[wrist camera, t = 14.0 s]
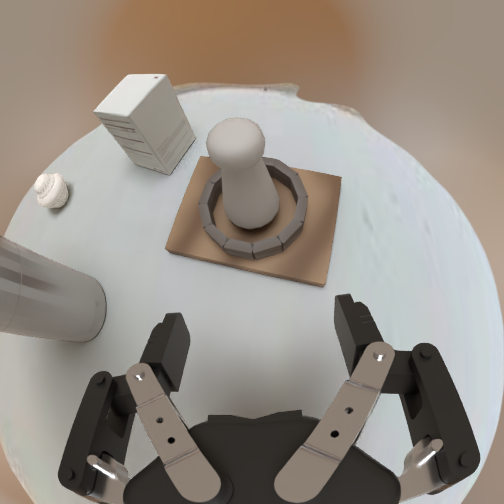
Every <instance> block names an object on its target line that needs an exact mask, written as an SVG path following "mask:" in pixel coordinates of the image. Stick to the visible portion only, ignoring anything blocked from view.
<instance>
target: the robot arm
mask: <svg viewBox="0 0 504 504" xmlns="http://www.w3.org/2000/svg"><path fill="white" fill-rule="evenodd" d="M105 313H106V302H105V296H104V293H103V290H102V288H101V286H100V284H99V283H98V282H97V281H96V280H95V279H94V278H93V277H90V276H88V275H85V274H83V273H81V272H78V271H76V270H73V269H71V268H69V267H67V266H64V265H62V264H60V263H57V262H55V261H53V260H51V259H48V258H46V257H44V256H42V255H39V254H37V253H35V252H33V251H31V250H29V249H27V248H25V247H23V246H20V245H18V244H16V243H14V242H12V241H10V240H8V239H6V238H4V237H2V236H0V332H5V333H10V334H17V335H23V336H30V337H38V338H46V339H55V340H64V341H75V342H86V341H89V340H91V339H93V338H94V337H95V336H96V335H97V334H98V333H99V331H100V329H101V327H102V325H103V322H104V319H105ZM334 324H335V330H336V333H337V336H338V339H339V342H340V346H341V349H342V352H343V356H344V359H345V362H346V366H347V369H348V373H349V376H350V379H349V380H346V381H345V383H344V384H343V386H342V387H341V389H340V391H339V392H338V394H337V396H336V397H335V399H334V401H333V402H332V404H331V405H330V407H329V408H328V410H327V411H326V413H325V415H324V416H323V418H322V419H321V420H319V419H317V418H314V417H309V416H302V410H295V411H287V412H278V413H274V414H271V415H268V416H264V417H261V418H257V419H249V418H243V417H238V416H233V415H208V421H206V422H203V423H200V424H198V425H195V426H193V427H192V428H189V426H188V425H187V423H186V422H185V420H184V419H183V417H182V416H181V414H180V413H179V411H178V410H177V408H176V406H175V405H174V403H173V401H172V400H171V398H170V397H169V396H170V392H171V391H173V392H178V391H179V387H180V383H181V379H182V374H183V370H184V366H185V362H186V358H187V354H188V350H189V346H190V334H189V331H188V329H187V326H186V324H185V321H184V319H183V316H182V314H181V313H167V314H166V315H165V318H164V320H163V322H162V323H158V324H157V325H156V327H155V328H154V329H153V330H152V333H151V335H150V338H149V340H148V344H147V345H146V347H145V350H144V352H143V354H142V357H141V359H140V362H139V363H138V364H135V365H133V366H132V367H130V368H129V370H128V371H127V373H126V374H125V375H121V376H116V377H112V375H111V374H110V373H109V372H107V371H100V372H98V373H96V374H95V375H93V377H92V378H91V380H90V382H89V384H88V387H87V389H86V392H85V394H84V397H83V399H82V402H81V404H80V407H79V410H78V412H77V415H76V418H75V420H74V423H73V426H72V429H71V432H70V435H69V438H68V441H67V444H66V447H65V450H64V454H63V457H62V460H61V464H60V467H59V471H58V478H59V481H60V483H61V484H62V485H63V486H64V487H65V488H67V489H69V490H71V491H73V492H75V493H76V494H78V495H80V496H82V497H84V498H86V499H88V500H90V501H93V502H97V503H99V504H399V503H401V502H404V501H407V500H410V499H413V498H416V497H419V496H421V495H424V494H429V495H434V494H438V493H440V492H442V491H444V490H445V489H447V488H449V487H451V486H453V485H455V484H456V483H458V482H460V481H461V480H463V479H465V478H466V477H468V476H470V475H471V474H473V473H474V472H475V470H476V469H477V468H478V466H479V463H480V453H479V449H478V446H477V443H476V440H475V437H474V434H473V431H472V428H471V425H470V422H469V420H468V417H467V414H466V412H465V409H464V407H463V404H462V402H461V399H460V397H459V394H458V392H457V390H456V387H455V385H454V383H453V380H452V378H451V376H450V374H449V372H448V370H447V367H446V365H445V363H444V361H443V359H442V357H441V355H440V353H439V351H438V349H437V348H436V347H435V346H433V345H432V344H429V343H420V344H418V345H416V346H415V347H414V348H413V350H412V351H397V350H394V349H393V347H392V346H391V345H389V344H387V343H385V342H384V341H383V338H382V336H381V334H380V332H379V330H378V328H377V326H376V324H375V322H374V320H373V317H372V316H371V313H370V311H369V309H368V307H367V306H365V305H364V304H363V303H362V302H355V303H354V301H353V299H352V297H351V295H350V294H343V295H337V296H335V309H334ZM381 393H387V394H399V396H400V399H401V403H402V406H403V410H404V413H405V417H406V420H407V424H408V428H409V432H410V436H411V440H412V444H413V448H412V450H411V451H410V452H409V453H408V454H407V455H406V457H405V460H404V470H403V473H402V475H401V476H400V477H397V476H396V475H395V474H394V473H393V472H392V471H391V470H389V469H388V468H386V467H385V466H383V465H382V464H380V463H379V462H378V461H376V460H375V459H373V458H372V457H371V456H369V455H368V454H366V453H365V452H364V451H362V450H361V449H360V448H358V447H357V446H355V444H356V443H357V441H358V439H359V437H360V436H361V434H362V432H363V430H364V428H365V426H366V424H367V422H368V420H369V418H370V416H371V414H372V412H373V410H374V408H375V406H376V404H377V402H378V399H379V397H380V395H381ZM109 409H110V410H109ZM108 412H109V413H108ZM137 412H138V415H139V417H140V419H141V421H142V423H143V425H144V427H145V430H146V432H147V434H148V436H149V438H150V439H151V441H152V443H153V445H154V447H155V449H156V451H157V453H158V454H159V456H158V457H157V458H156V459H155V460H154V461H152V462H151V463H150V464H149V465H148V466H146V467H145V468H144V469H143V470H142V471H140V472H139V473H138V474H137V475H135V476H134V477H133V478H132V479H131V480H130V479H129V477H128V471H127V469H126V467H125V466H124V461H125V456H126V452H127V447H128V442H129V438H130V433H131V429H132V425H133V421H134V417H135V413H137ZM107 415H108V416H107ZM106 418H107V419H106Z"/></svg>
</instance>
